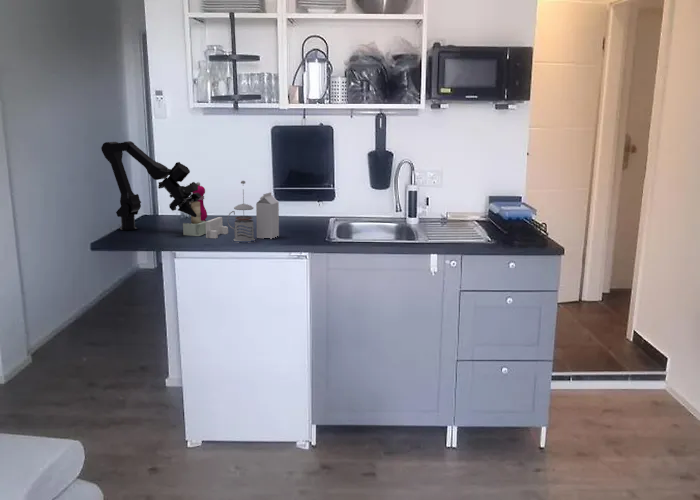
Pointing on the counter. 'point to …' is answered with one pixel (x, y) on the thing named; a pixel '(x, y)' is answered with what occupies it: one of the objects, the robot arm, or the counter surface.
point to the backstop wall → (215, 228)
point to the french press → (247, 223)
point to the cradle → (194, 229)
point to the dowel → (196, 208)
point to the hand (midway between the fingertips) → (198, 215)
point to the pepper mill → (201, 201)
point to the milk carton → (267, 217)
